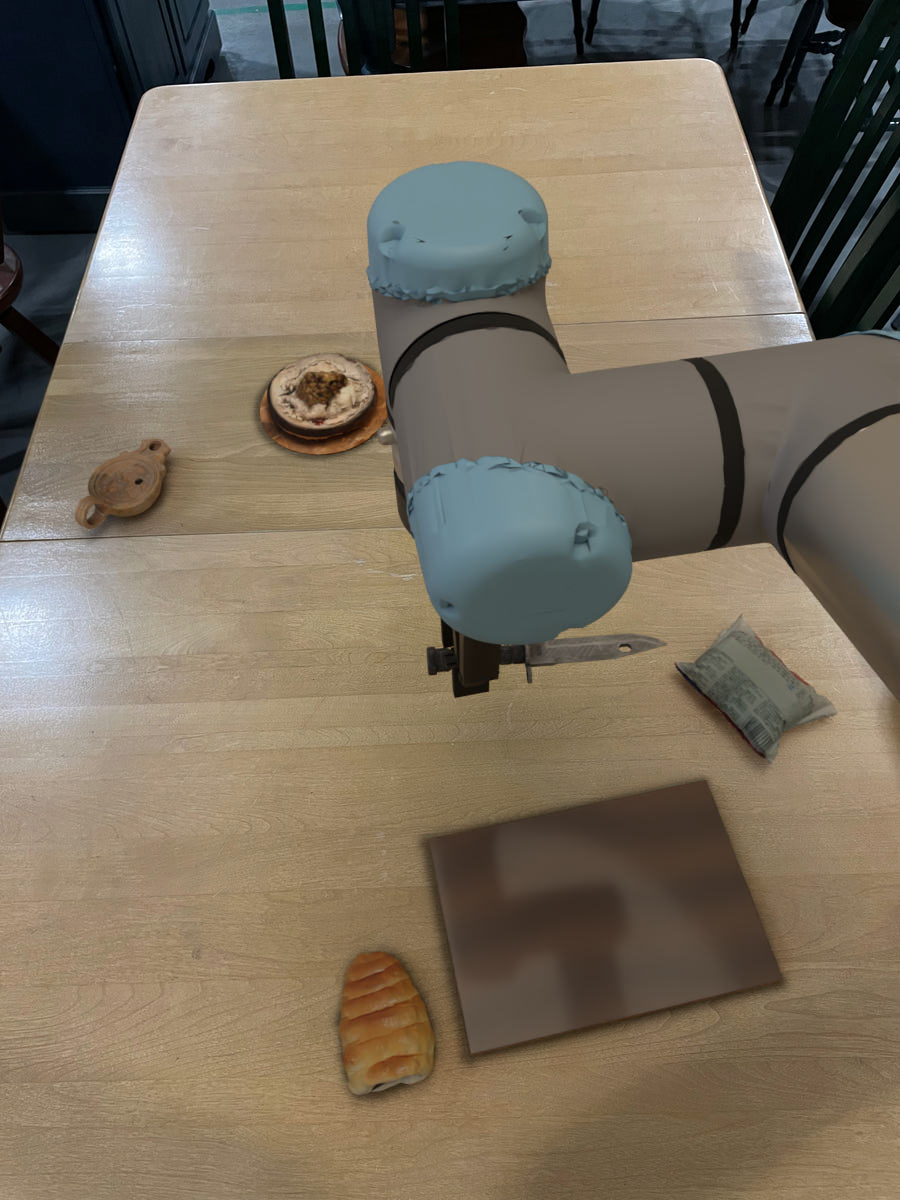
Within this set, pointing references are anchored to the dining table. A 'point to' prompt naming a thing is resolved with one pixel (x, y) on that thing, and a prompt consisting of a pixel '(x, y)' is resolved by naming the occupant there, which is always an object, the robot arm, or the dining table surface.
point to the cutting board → (596, 916)
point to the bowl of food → (323, 404)
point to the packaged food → (754, 689)
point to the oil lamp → (125, 484)
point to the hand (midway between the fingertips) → (464, 665)
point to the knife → (558, 651)
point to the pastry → (383, 1026)
